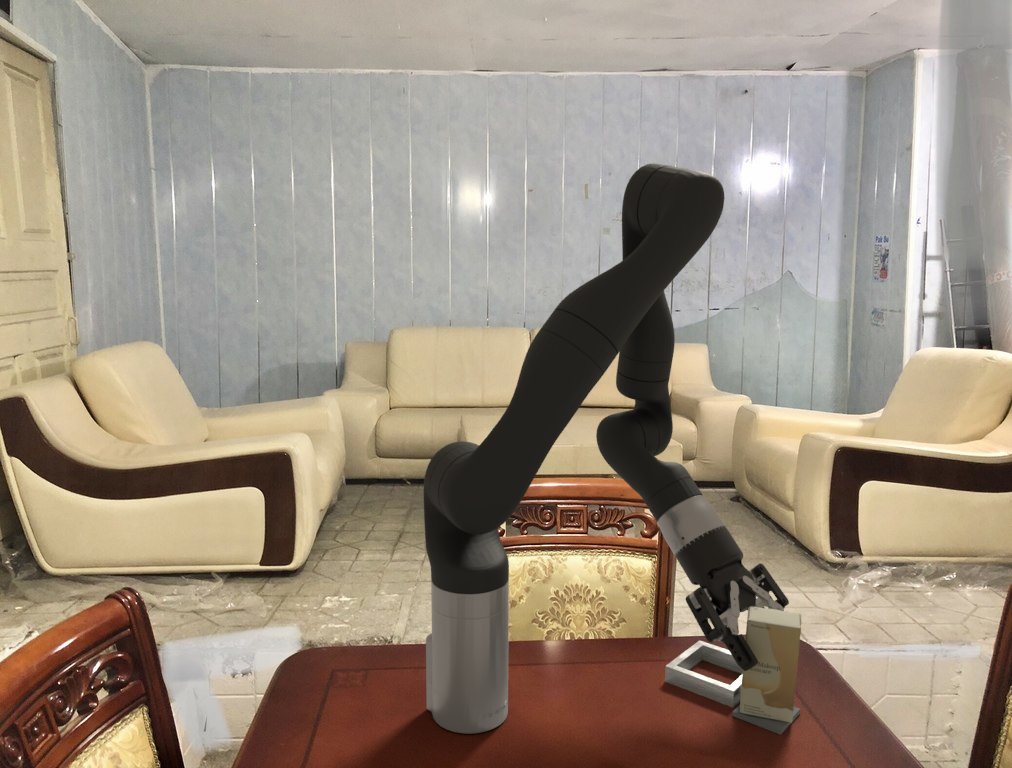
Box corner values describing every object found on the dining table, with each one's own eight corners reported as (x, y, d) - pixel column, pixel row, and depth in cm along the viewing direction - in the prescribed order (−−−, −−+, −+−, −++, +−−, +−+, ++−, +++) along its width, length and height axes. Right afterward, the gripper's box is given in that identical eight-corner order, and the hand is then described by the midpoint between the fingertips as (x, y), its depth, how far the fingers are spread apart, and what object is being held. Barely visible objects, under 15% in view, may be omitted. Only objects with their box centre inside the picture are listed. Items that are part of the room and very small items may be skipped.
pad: (732, 715, 98) (732, 711, 98) (753, 696, 102) (753, 691, 102) (780, 734, 94) (781, 730, 94) (800, 713, 99) (800, 708, 98)
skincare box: (739, 714, 97) (744, 618, 95) (740, 696, 101) (746, 604, 99) (795, 724, 95) (802, 627, 93) (795, 705, 99) (801, 611, 97)
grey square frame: (665, 681, 106) (665, 665, 105) (698, 655, 113) (699, 640, 113) (733, 707, 100) (733, 691, 99) (764, 678, 107) (765, 662, 106)
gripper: (680, 536, 97) (758, 663, 90) (750, 513, 106) (826, 627, 99) (645, 565, 102) (717, 687, 95) (714, 541, 110) (784, 651, 103)
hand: (772, 656), depth 97 cm, fingers open, 8 cm apart
